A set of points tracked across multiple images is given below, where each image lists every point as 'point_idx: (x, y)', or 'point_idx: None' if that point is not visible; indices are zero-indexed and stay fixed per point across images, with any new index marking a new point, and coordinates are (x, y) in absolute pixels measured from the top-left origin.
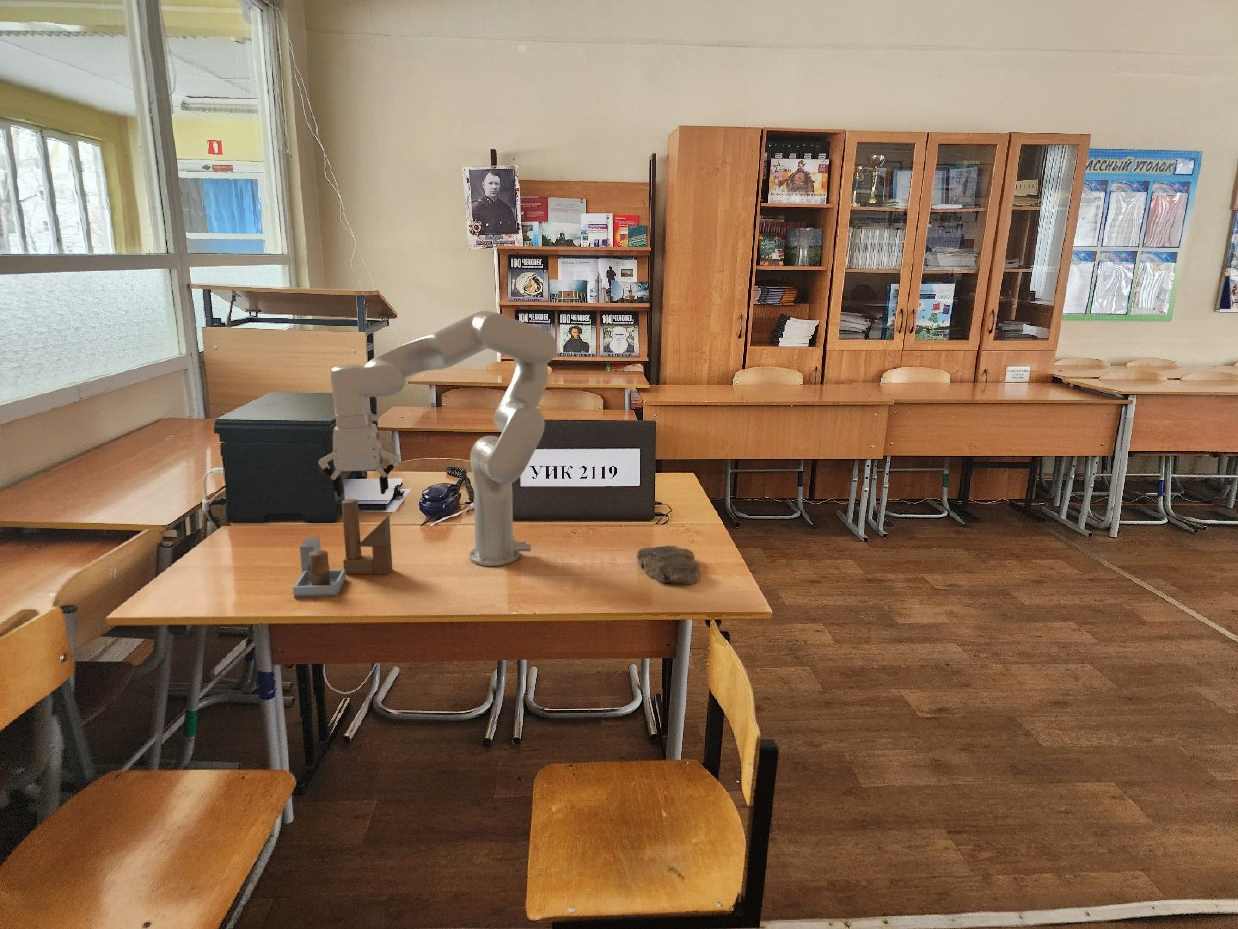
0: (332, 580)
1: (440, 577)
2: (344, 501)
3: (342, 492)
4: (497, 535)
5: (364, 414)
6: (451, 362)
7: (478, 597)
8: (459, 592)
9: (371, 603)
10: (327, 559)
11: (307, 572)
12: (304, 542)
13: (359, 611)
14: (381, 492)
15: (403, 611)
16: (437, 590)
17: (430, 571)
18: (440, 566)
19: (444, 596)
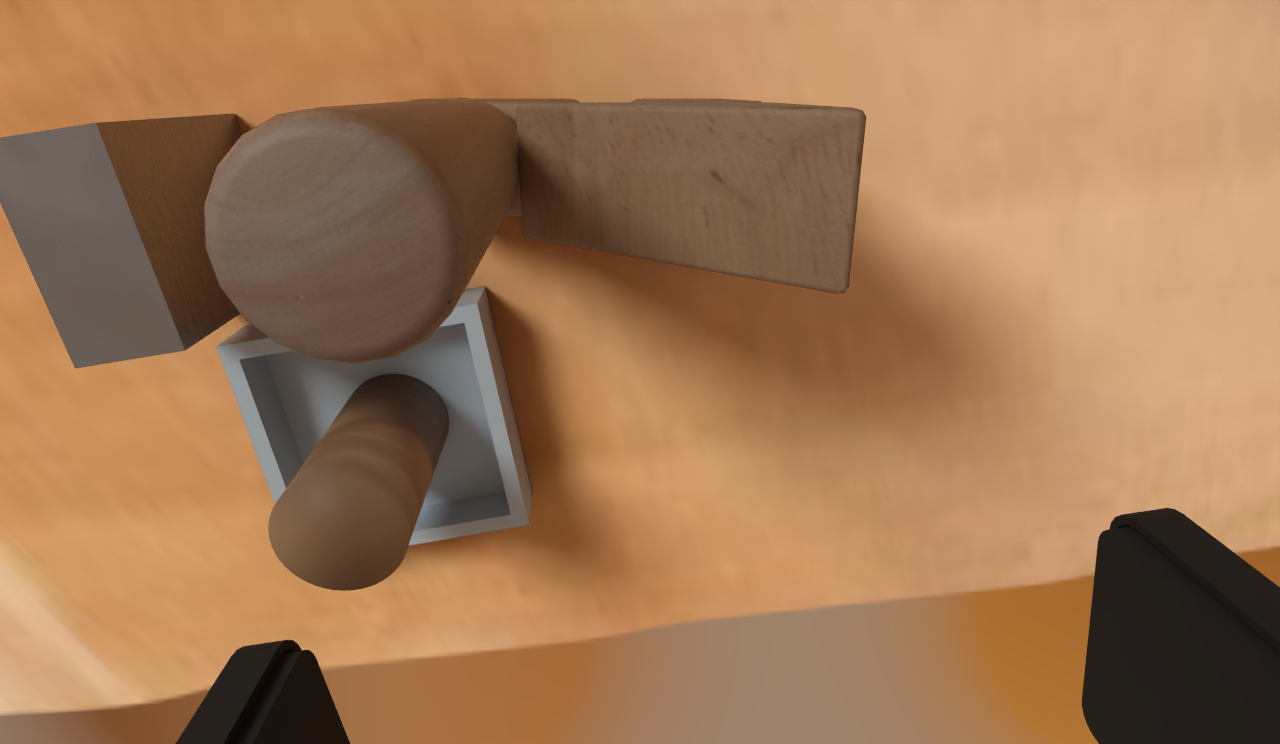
0: (425, 343)
1: (1040, 205)
2: (265, 294)
3: (329, 720)
4: None
5: None
6: None
7: (1233, 434)
8: (1144, 389)
9: (732, 542)
10: (417, 507)
11: (248, 357)
12: (43, 269)
13: (702, 616)
14: (1109, 741)
15: (897, 596)
16: (1032, 377)
17: (973, 114)
18: (1031, 19)
19: (1070, 439)
